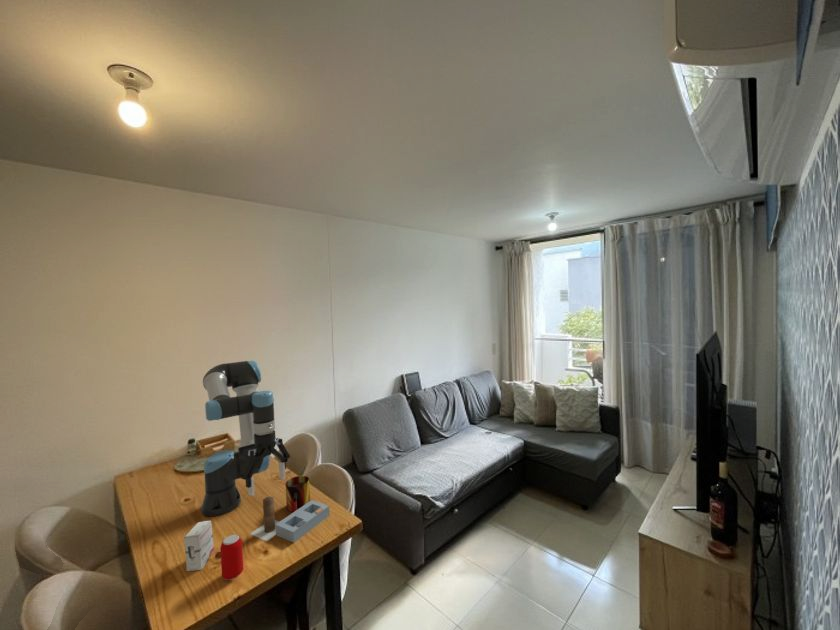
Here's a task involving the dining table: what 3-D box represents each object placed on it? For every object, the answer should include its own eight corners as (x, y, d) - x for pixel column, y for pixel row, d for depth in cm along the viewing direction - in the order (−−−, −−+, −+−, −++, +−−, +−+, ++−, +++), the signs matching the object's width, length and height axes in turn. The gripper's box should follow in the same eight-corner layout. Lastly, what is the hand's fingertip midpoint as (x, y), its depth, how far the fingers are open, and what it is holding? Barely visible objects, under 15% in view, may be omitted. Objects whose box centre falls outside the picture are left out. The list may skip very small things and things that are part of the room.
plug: (262, 531, 130) (260, 500, 130) (270, 525, 133) (269, 495, 133) (268, 533, 128) (266, 502, 128) (277, 528, 132) (275, 497, 131)
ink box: (200, 553, 121) (198, 521, 120) (214, 552, 121) (212, 519, 121) (185, 572, 112) (183, 537, 112) (201, 570, 112) (199, 535, 112)
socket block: (276, 537, 128) (275, 523, 127) (312, 511, 143) (311, 499, 143) (294, 545, 123) (293, 531, 123) (329, 517, 138) (329, 505, 138)
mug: (295, 522, 136) (293, 493, 136) (283, 508, 147) (282, 481, 146) (317, 512, 142) (316, 484, 142) (305, 499, 153) (304, 473, 153)
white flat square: (250, 536, 129) (249, 533, 129) (272, 521, 138) (272, 518, 138) (266, 544, 124) (266, 541, 124) (289, 528, 133) (289, 525, 133)
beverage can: (233, 566, 114) (231, 531, 113) (247, 569, 112) (246, 534, 112) (217, 580, 108) (215, 543, 108) (232, 584, 106) (230, 547, 106)
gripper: (239, 445, 117) (243, 505, 118) (297, 422, 139) (300, 473, 139) (227, 442, 121) (230, 500, 121) (285, 420, 143) (287, 470, 143)
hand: (267, 486), depth 130 cm, fingers open, 13 cm apart
